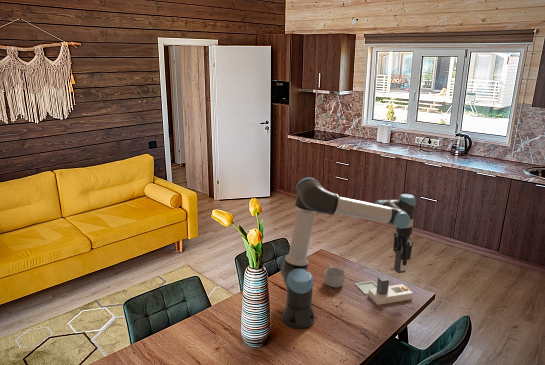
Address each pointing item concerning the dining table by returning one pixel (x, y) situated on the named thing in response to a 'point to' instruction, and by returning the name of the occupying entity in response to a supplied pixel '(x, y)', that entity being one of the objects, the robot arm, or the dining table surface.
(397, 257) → the plug
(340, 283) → the teacup
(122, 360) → the dining table surface
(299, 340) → the dining table surface
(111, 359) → the dining table surface
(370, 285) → the tray
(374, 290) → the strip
